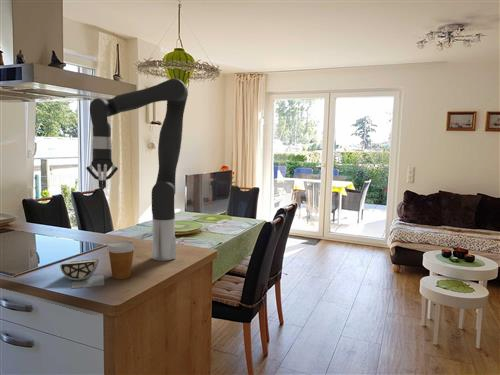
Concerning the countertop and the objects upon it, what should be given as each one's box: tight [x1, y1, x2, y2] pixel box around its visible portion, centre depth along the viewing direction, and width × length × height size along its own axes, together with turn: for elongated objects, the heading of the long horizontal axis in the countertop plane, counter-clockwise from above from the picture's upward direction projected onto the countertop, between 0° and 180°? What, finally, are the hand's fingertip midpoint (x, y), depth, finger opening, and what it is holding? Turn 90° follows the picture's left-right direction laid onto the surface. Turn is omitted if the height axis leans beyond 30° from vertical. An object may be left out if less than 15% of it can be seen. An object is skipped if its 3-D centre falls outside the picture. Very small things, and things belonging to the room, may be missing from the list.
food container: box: [59, 258, 99, 281], centre depth 133 cm, size 12×6×10 cm
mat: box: [71, 274, 105, 290], centre depth 130 cm, size 10×10×1 cm
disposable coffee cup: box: [107, 240, 136, 280], centre depth 136 cm, size 10×10×12 cm
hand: (102, 189), depth 158 cm, fingers closed
